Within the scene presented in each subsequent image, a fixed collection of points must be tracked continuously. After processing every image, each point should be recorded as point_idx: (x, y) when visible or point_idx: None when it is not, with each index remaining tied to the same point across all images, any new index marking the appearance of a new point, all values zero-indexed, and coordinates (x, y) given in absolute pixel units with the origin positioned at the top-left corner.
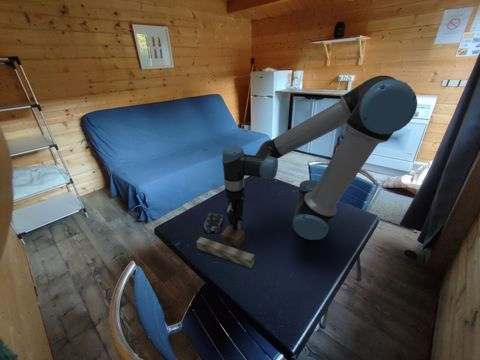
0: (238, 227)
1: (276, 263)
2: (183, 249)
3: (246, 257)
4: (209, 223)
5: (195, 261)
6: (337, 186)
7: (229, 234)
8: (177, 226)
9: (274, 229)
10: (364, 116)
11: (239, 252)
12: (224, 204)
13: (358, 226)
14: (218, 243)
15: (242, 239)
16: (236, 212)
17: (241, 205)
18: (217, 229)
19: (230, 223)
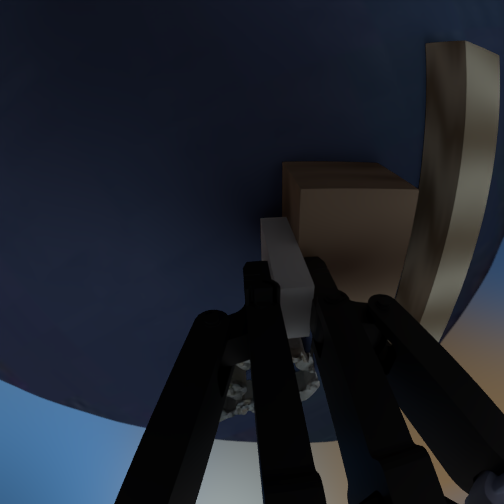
0: (302, 256)
1: None
2: None
3: (492, 86)
4: (251, 382)
5: (463, 298)
6: None
7: (378, 274)
8: (314, 429)
9: (82, 32)
10: None
11: (477, 139)
12: (96, 385)
13: None
14: (437, 285)
15: (331, 170)
16: (401, 429)
17: (188, 454)
18: (291, 344)
19: (387, 341)
